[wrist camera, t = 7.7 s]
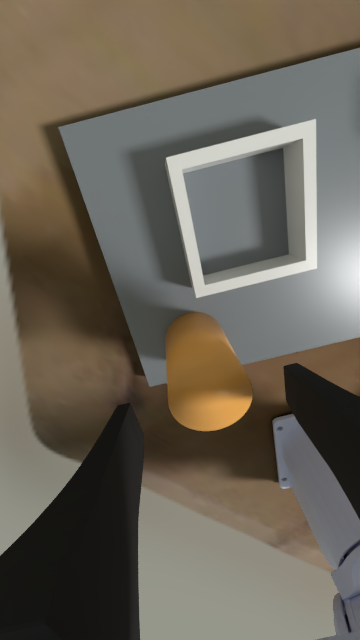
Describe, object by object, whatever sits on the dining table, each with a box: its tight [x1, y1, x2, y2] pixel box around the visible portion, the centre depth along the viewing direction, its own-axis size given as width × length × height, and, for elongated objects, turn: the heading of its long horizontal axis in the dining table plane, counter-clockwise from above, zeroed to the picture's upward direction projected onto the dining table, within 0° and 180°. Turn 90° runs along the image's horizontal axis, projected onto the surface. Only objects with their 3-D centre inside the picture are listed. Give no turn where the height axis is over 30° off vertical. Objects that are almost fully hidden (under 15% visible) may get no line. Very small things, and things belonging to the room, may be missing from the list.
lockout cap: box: [165, 312, 253, 431], centre depth 15 cm, size 4×4×6 cm
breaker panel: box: [58, 48, 360, 387], centre depth 15 cm, size 16×24×3 cm, turn 103°
